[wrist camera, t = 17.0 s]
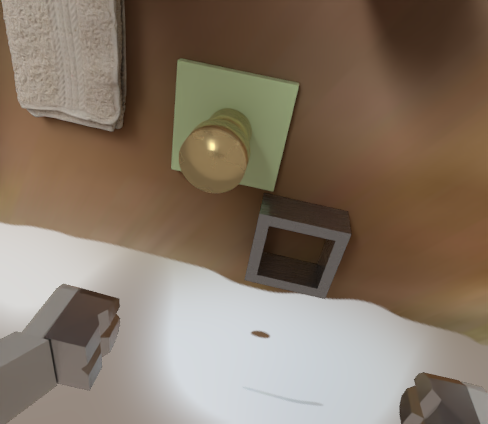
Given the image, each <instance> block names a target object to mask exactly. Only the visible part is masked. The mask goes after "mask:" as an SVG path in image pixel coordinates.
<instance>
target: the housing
mask: <svg viewBox="0 0 488 424" xmlns="http://www.w3.org/2000/svg"><path fill="white" fill-rule="evenodd" d="M269 226H272V227H276V228H281V229H285V230H289V231H294V232H298V233H303V234H307V235H312V236H316V237H320V238H325V239H326V241H325V244H324V247H323V249H322V252H321V255H320V258H319V260H318V263H317V264H314V263H310V262H305V261H301V260H296V259H292V258H288V257H283V256H279V255H275V254H270V253H266V252H263V248H264V244H265V240H266V236H267V232H268V228H269ZM350 236H351V228H350V221H349V214H348V211H344V210H339V209H335V208H330V207H326V206H321V205H317V204H312V203H308V202H303V201H299V200H294V199H290V198H285V197H281V196H276V195H272V194H267V193H264V195H263V200H262V204H261V209H260V213H259V218H258V222H257V227H256V231H255V235H254V240H253V244H252V249H251V253H250V258H249V262H248V267H247V271H246V276H245V280H246V281H251V282H255V283H259V284H264V285H268V286H272V287H276V288H281V289H285V290H289V291H294V292H298V293H302V294H307V295H311V296H315V297H319V298H324V299H325V298H326V295H327V293H328V290H329V288H330V285H331V283H332V280H333V278H334V276H335V273H336V271H337V268H338V266H339V263H340V261H341V258H342V256H343V253H344V251H345V249H346V246H347V244H348V241H349V239H350Z"/></svg>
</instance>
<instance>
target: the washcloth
mask: <svg viewBox="0 0 488 424" xmlns="http://www.w3.org/2000/svg"><path fill="white" fill-rule="evenodd" d="M1 2H2V7H3V13H4V18H3V19H4V20H5V24H6V29H7V31H6V33H7V36H8V40H9V41H8V44H9V47H10V52H11V56H12V63H13V69H14V72H15V74H14V77H15V86H16V92H17V94H18V97H17V98H18V101H19V103H20V105H21V107H22V108H26V109H27V110H28V111H29V112H30V113H31V114H32V115H33V116H35V117H43V116H46V117H51V118H57V119H60V120H64V121H68V122H73V123H77V124H81V125H85V126H89V127H94V128H100V129H104V130H108V131H114V129H115V128H116V129H120V128H122V126H123V116H124V115H123V113H124V111H125V105H124V103H125V96H126V42H125V41H126V35H125V8H124V0H1Z"/></svg>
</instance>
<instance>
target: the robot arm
mask: <svg viewBox="0 0 488 424" xmlns="http://www.w3.org/2000/svg"><path fill="white" fill-rule="evenodd" d="M119 307H120V304H119V299H118V298H115V297H111V296H107V295H104V294H100V293H97V292H93V291H89V290H86V289H82V288H78V287H74V286H70V285H66V284H62V285H61V286H59V287H58V288H57V289H56V290H55V291H54V292H53V294H52V295H51V296H50V297H49V299H48V300H47V301H46V303H45V304H44V305H43V306H42V308H41V309H40V310H39V311H38V313H37V314H36V315H35V316H34V318H33V319H32V320H31V321H30V323H29V324H28V325H27V326H26V328H25V329H24V330H23V332H22V333H20V332H14V333H12V334H10V335H8V336H6V337H4V338H2V339H0V424H6V423H7V422H9V421H10V420H12V419H13V418H14V417H16V416H17V415H18V414H20V413H21V412H22V411H24V410H25V409H26V408H28V407H29V406H30V405H32V404H33V403H34V402H35V401H37V400H38V399H40V398H41V397H42V396H44V395H45V394H46V393H48V392H49V391H50V390H52V389H53V388H54V387H56V386H57V384H62V385H67V386H71V387H75V388H80V389H85V390H90V389H91V387H92V385H93V383H94V381H95V380H96V378H97V376H98V374H99V372H100V370H101V368H102V357H103V356H105V355H106V354H108V353H109V352H110V351H111V349H112V347H113V345H114V343H115V340H116V337H117V334H118V331H119V326H120V318H119V316H118V315H117V314H116V313H117V311H118V309H119ZM414 381H415V385H416V386H413V387H410V388H407V389H406V391H405V392H404V394H403V395H402V397H401V402H400V419H401V424H488V394H487V392H486V391H485V390H484V388H483V387H481V386H477V385H473V384H469V383H465V382H460V381H458V380H454V379H450V378H446V377H441V376H437V375H432V374H428V373H424V372H423V373H420V374H418V375H417V376H416V378H415V379H414Z"/></svg>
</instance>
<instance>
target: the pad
mask: <svg viewBox="0 0 488 424" xmlns="http://www.w3.org/2000/svg"><path fill="white" fill-rule="evenodd" d="M298 88H299V83H297V82H292V81H287V80H282V79H278V78H273V77H268V76H263V75H259V74H254V73H249V72H244V71H239V70H235V69H230V68H225V67H220V66H215V65H211V64H206V63H201V62H196V61H192V60H187V59H182V58H180V59H179V60H178V61H177V78H176V95H175V112H174V129H173V146H172V163H171V169H173V170H178V171H181V169H180V165H179V151H180V148H181V146H182V144H183V142H184V141H185V140H186V138H187V137H188V136H189V135H190V133H191V132H192V131H193V129H194V128H195V127H196V126H197V125H198V124H200V123H201V122H203V121H206V120H209V118H210V117H211V116H212V115H213V114H214V113H215V112H216V111H218V110H220V109H225V108H231V109H235V110H238V111H240V112H241V113H242V114H244V115H245V116H246V117H247V119H248V120H249V122H250V124H251V128H252V136H251V139H250V142H249V144H250V149H251V154H250V159H249V162H248V165H247V168H246V171H245V174H244V176H243V179H242V180H241V182H240V183H239V184H241V185H245V186H250V187H255V188H259V189H264V190H268V191H274V187H275V183H276V179H277V175H278V171H279V166H280V162H281V158H282V154H283V150H284V146H285V142H286V137H287V133H288V129H289V125H290V121H291V117H292V112H293V108H294V104H295V100H296V96H297V92H298Z"/></svg>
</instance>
